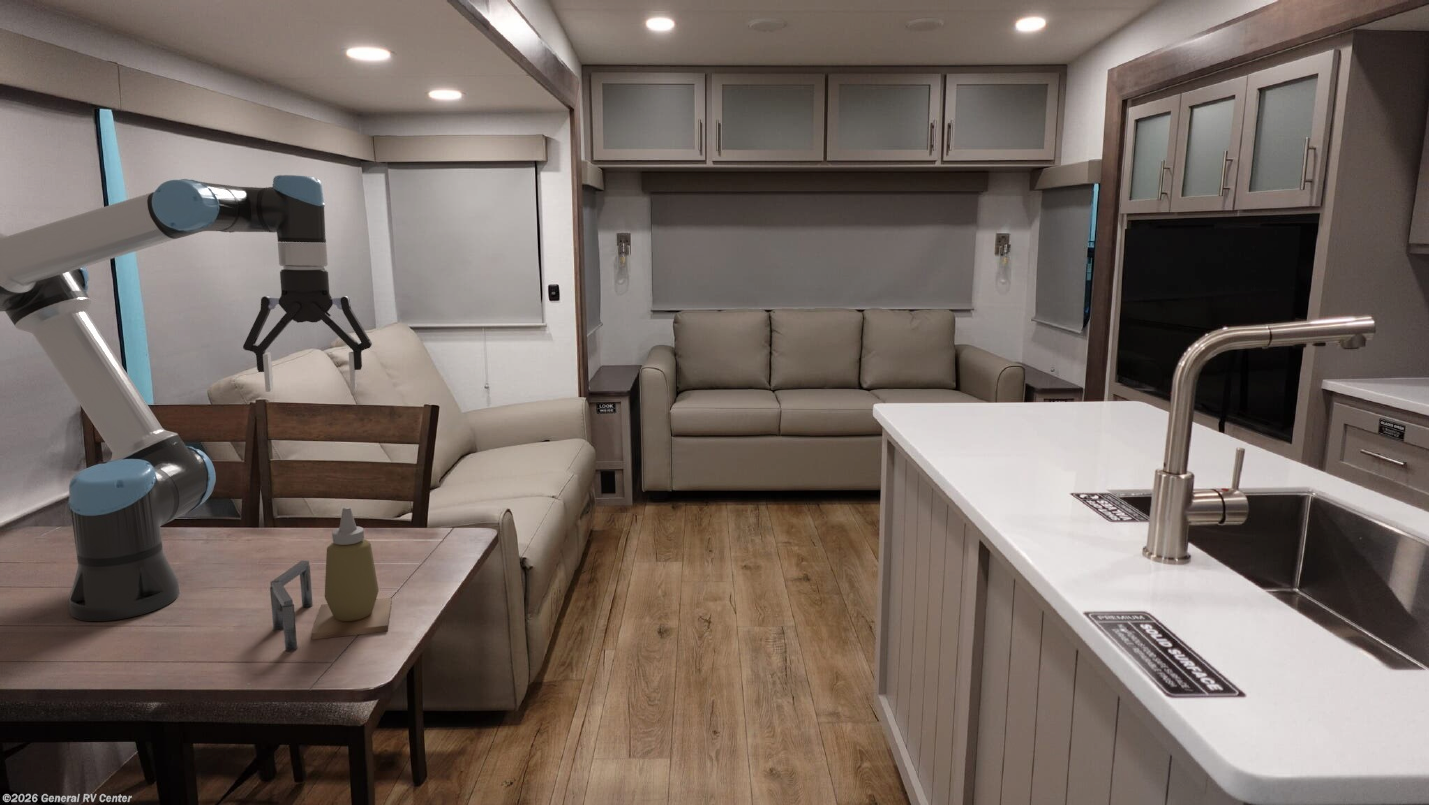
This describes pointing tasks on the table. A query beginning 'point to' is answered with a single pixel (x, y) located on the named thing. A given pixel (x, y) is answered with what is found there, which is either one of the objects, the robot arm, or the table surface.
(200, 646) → the table surface
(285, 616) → the gray angled arch frame
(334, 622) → the pad
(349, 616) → the squeeze bottle
